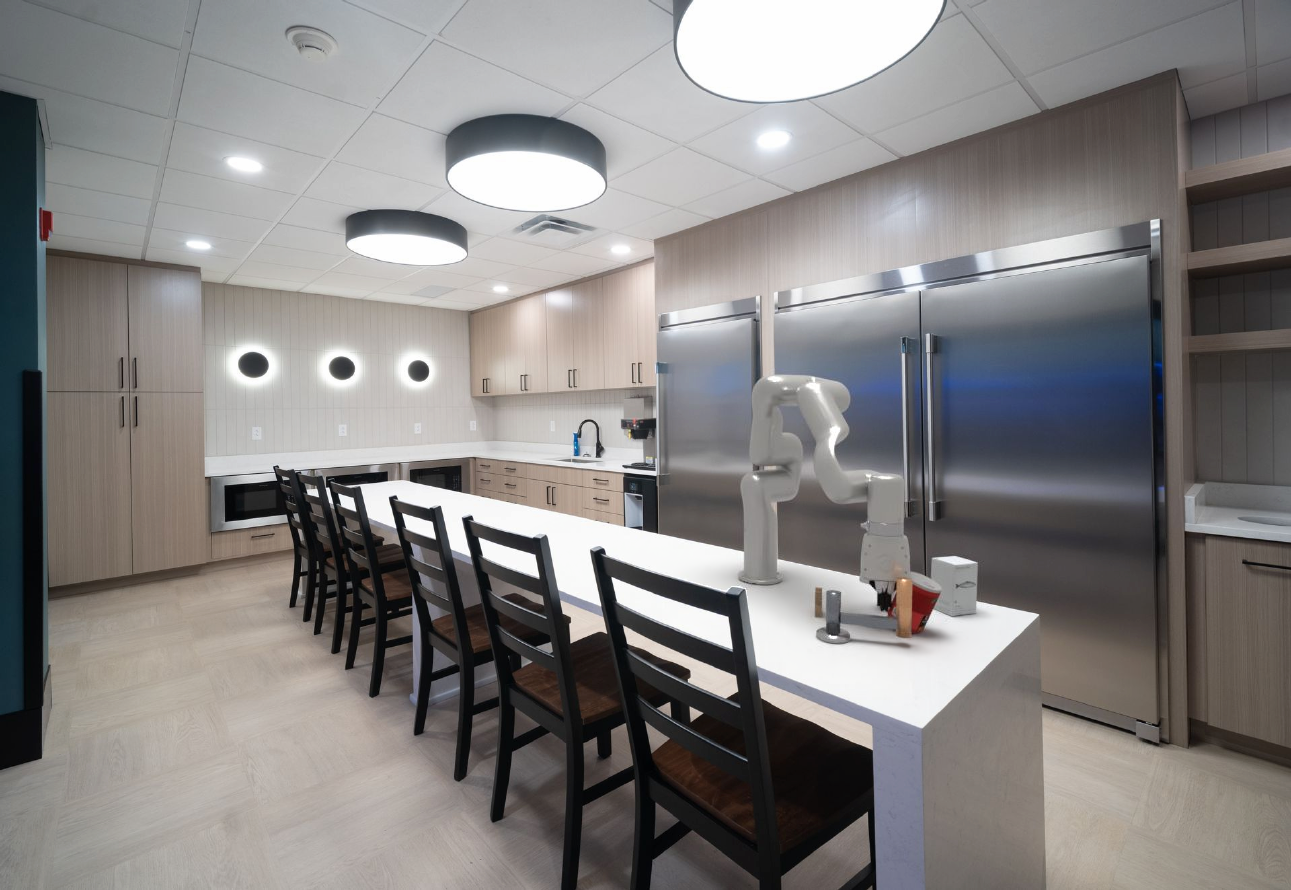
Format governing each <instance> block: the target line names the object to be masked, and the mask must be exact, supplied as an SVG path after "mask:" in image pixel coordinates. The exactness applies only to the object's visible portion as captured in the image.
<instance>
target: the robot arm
mask: <svg viewBox="0 0 1291 890" xmlns="http://www.w3.org/2000/svg"><path fill="white" fill-rule="evenodd" d="M850 404H851V394H850V391H849V389H848V388H847V387H846V386H845V384H843V383H842V382H840V381H836V380H831V379H826V378H823V377H817V376H813V375H804V374H803V375H802V374H769V375H765V376H763V377H761V378H759V380H757V382H756V383H755V384H754V385H753V389H752V391H751V408H752V410H751V411H752V423H751V432H750V440H749V453H748V454H749V458H750V461H751V463H752V464H753V465H755V466H758V467H775V468H776V469H759V470H752V471H749V472H747V473H746V474H745V475H744V476H743V477H742V478H741V481H740V486H739V487H740V494H741V499H742V506H743V570H741V571H739V573H738V574H737V575H738V579H739V580H740V581H741V582H744V581H745V583H747V582H748V584H752V583H756V584H755V585H763V586H764V585H767V586H768V585H775V584H779V583H781V582H782V581H783V577H784V576H783V575H782V573H780V572H778V515H777V514H776V511H775V510H774V507H773V505H772V503H779V502H781V503H782V502H787V501H791V500H793V499H794V498H795V497H796V496H797V494H798V493H799V489H800V485H801V484H800V483H801V475H802V474H801V473H802V466H803V457H804V448H803V444H802V441H801V440H800V438H799V437H798V435H796V434H794V433H792V432H783V426H784V418H783V415H782V412H781V409H780V408H779V407H798V409H799V411H800V412H801V414H802V417H803V419H804V420H805V422H806V425H807V426H808V428H809V431H810V432H811V434H812V436H813V438H814V440H815V443H816V445H815V449H814V451H813V468H814V469H813V470H814V474H815V476H816V478H817V481H818V482H819V485H820V487H821V489H822V490H823V492H824V494H825V495H826V497H827V498H828V499H829V500H830V501H831V502H833V503H835V504H839V505H847V504H848V505H849V504H856V503H867V518H866V521H864V522H860V529H863V530H865V531H866V532H865V533H864V534H863V539H862V544H861V552H860V553H861V554H860V574H859V577H858V578H859V579H858V580H859V582H860V583H862V584H865V585H869V586H871V587H872V589H873V590H874V591H875V592H876V605H877V607H879V610H880V612H885V613H886V612H887V613H888V607H891V604H892V594H893V592H894V591H896V590H897V578H898V577H907V578H910V572H911V562H910V561H911V556H910V553H911V552H910V545H909V539H908V536H907V535H905V534H904V528H905V527H904V524H905V522H904V521H905V480H904V478H903V476H902V475H899V474H894V473H882V472H879V471H876V470H872V469H858V470H857V469H856V470H855V469H854V470H853V469H852V470H843V468H842V467H841V466H840V463H839V462H838V459H837V457H836V453H835V449H836V445H838V444H840V443H841V442H843V441H844V440H845V439H846V438H847V436H849V434H850V426H849V425H848V423H847V421H846V419H845V417H844V416H843V413H844V412H845V411H846V410H848V408H849V406H850ZM881 581H885V582H888V584H887V588H886V589H885V591H883V588H882V587H881Z"/></svg>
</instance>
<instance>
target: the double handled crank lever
mask: <svg viewBox="0 0 1291 890" xmlns="http://www.w3.org/2000/svg"><path fill="white" fill-rule="evenodd" d="M825 595H826V597H825V599H826V600H825V601H826V602H825V603H826V605H825V627H826V632H827V633H829V634H840V629H841V625H848V626H849V625H850V626H860V627H872V628H879V629H888V630H889V629H891V630H895V636H896V637H897V638H901V639H911V638H912V632H911V624H912V579H911V578H907V577H898V578H897V590H896V617H888V615H876V614H866V613H854V612H845V611H844V612H843V611H842V592H841V591H839V590H835V589H828V590H826V594H825Z"/></svg>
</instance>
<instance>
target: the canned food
mask: <svg viewBox="0 0 1291 890" xmlns="http://www.w3.org/2000/svg"><path fill="white" fill-rule="evenodd" d="M910 578H911V579H912V624H911V633H914V634H919V633H922V632H923V630H924V629H925V627H926V626H927V623H928V621H929V619H930V617H931V614H932V612H933V611H934V610H935V609H934V607H935V604H936V602H937V600H938V598H939V596H940V594H941V591H942V587H941V586H940V585H939V584H938V583H937V582H935V581H934V580H932V579H931V577H928V576H927V575H924V574H922V573H919V572H915V571H910ZM887 616H888V617H896V594H895V596H894V599H893V601H892V604H891V607H890V608H889V610H888V612H887Z"/></svg>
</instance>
